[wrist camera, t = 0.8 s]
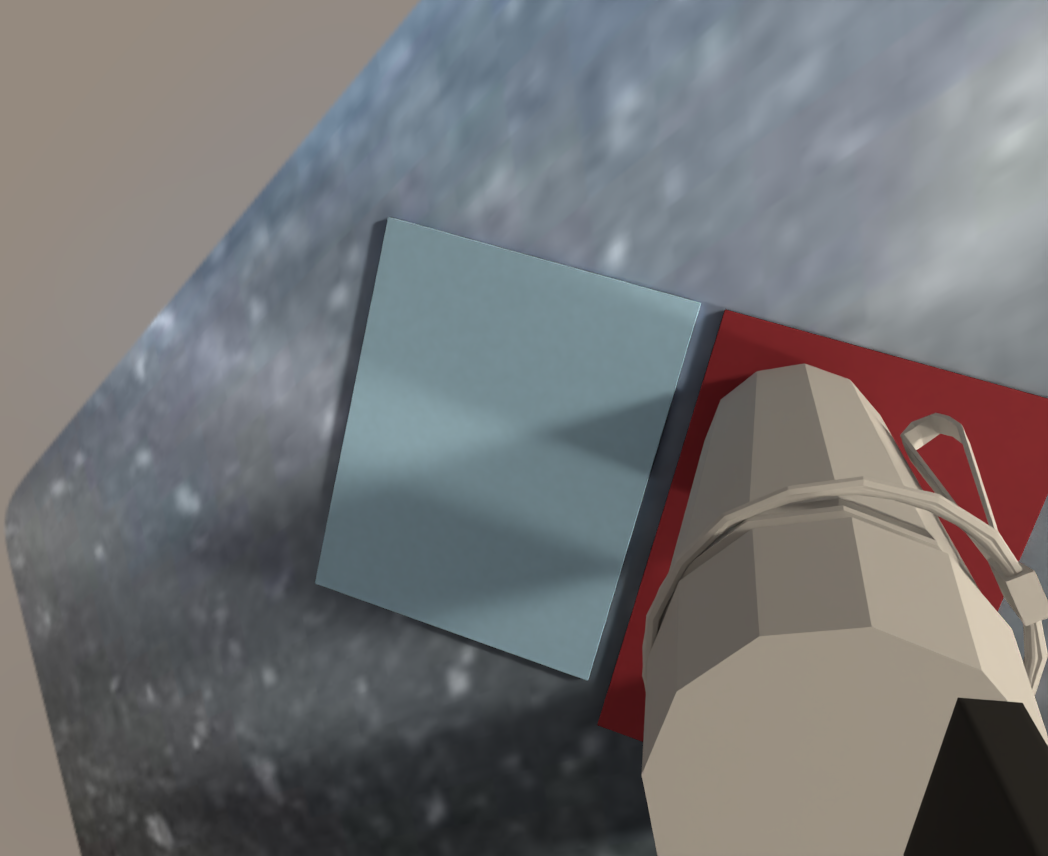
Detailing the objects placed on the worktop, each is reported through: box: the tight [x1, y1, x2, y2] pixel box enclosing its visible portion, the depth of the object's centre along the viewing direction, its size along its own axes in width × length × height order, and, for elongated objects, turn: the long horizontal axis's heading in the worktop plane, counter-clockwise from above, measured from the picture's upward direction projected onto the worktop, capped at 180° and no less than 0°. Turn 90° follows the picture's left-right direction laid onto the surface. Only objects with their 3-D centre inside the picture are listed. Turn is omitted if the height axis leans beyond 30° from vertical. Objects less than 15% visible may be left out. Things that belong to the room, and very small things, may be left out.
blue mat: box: [315, 217, 701, 681], centre depth 42 cm, size 18×14×1 cm
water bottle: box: [642, 363, 1048, 856], centre depth 27 cm, size 9×8×25 cm
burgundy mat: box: [598, 310, 1048, 742], centre depth 40 cm, size 20×14×1 cm
